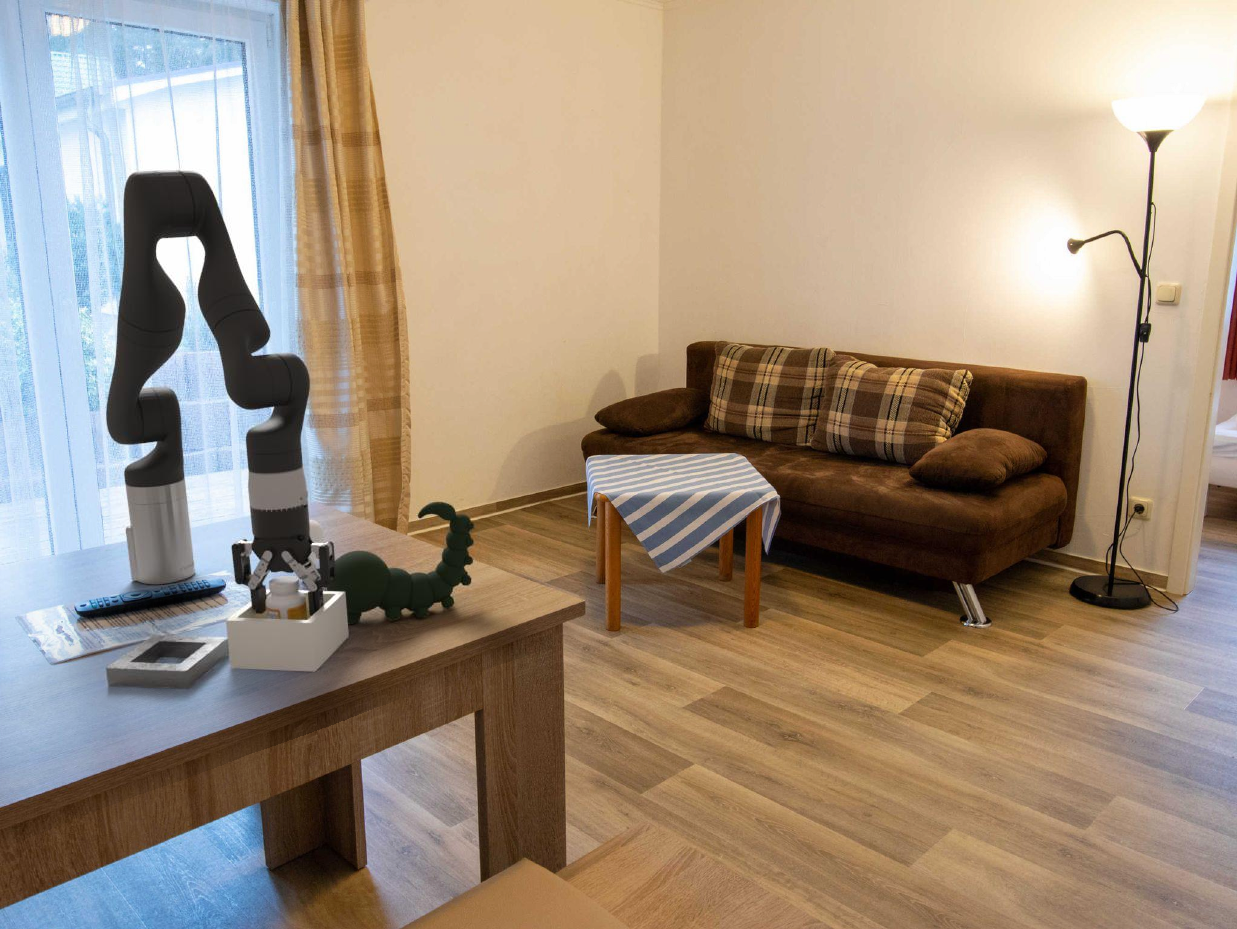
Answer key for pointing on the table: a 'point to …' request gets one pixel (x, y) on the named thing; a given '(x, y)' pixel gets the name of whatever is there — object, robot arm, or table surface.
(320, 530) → the lightbulb
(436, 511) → the toy figurine
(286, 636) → the bin
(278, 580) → the supplement bottle
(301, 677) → the table surface
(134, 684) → the socket collar
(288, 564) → the robot arm
